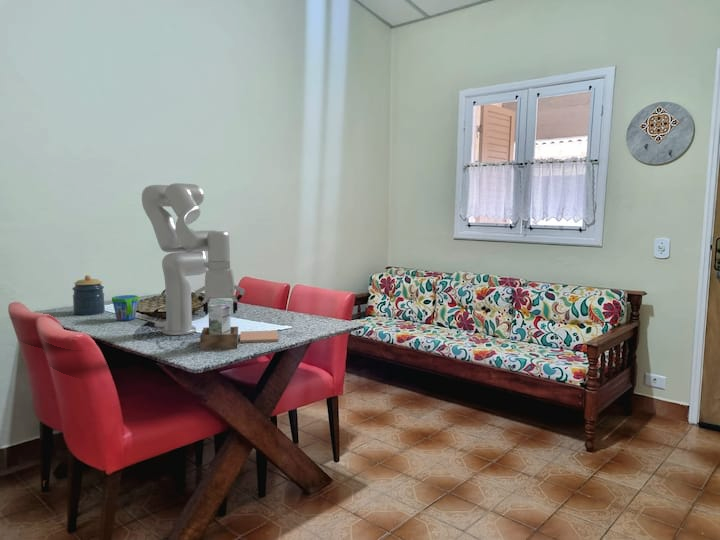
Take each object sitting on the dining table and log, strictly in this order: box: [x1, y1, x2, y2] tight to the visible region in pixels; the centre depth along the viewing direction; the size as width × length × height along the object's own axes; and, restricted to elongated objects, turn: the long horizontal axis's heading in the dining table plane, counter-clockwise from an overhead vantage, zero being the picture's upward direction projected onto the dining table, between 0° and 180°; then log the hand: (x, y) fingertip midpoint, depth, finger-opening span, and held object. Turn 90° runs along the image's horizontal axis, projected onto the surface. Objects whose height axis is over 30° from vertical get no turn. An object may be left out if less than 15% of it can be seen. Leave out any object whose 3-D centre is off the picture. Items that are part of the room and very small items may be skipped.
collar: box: [199, 326, 239, 350], centre depth 183 cm, size 12×12×5 cm
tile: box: [239, 329, 279, 344], centre depth 194 cm, size 14×14×1 cm
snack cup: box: [111, 294, 139, 322], centre depth 221 cm, size 16×10×10 cm
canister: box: [71, 274, 106, 316], centre depth 234 cm, size 13×13×18 cm
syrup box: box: [208, 303, 231, 334], centre depth 182 cm, size 6×6×14 cm
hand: (220, 313), depth 181 cm, fingers open, 9 cm apart
